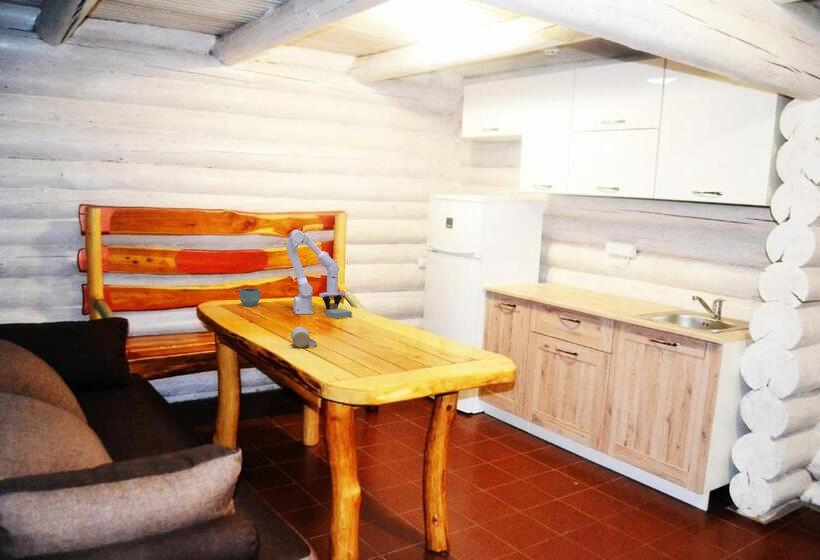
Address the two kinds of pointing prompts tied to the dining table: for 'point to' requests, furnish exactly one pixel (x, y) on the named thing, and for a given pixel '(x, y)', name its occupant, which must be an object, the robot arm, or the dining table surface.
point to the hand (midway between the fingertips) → (331, 309)
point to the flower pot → (249, 296)
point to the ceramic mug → (302, 337)
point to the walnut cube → (333, 306)
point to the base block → (338, 313)
